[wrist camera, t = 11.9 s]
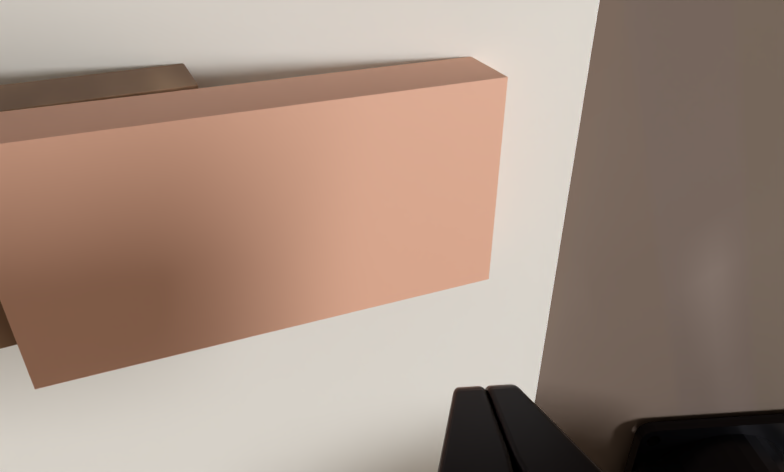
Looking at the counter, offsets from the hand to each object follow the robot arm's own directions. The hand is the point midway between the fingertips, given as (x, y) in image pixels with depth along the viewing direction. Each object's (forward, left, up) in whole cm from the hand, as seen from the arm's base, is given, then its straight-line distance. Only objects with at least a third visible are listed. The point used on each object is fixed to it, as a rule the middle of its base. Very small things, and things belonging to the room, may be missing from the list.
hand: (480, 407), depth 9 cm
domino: (-1, 0, -7) cm, 7 cm away
